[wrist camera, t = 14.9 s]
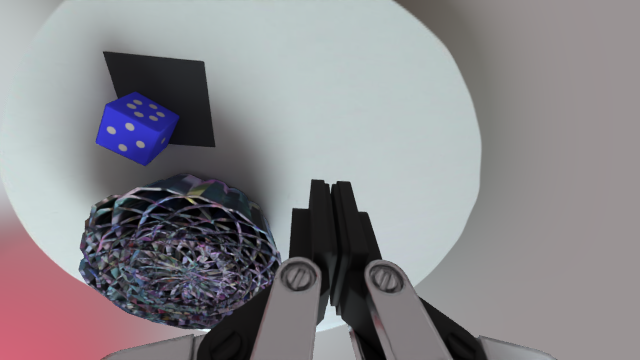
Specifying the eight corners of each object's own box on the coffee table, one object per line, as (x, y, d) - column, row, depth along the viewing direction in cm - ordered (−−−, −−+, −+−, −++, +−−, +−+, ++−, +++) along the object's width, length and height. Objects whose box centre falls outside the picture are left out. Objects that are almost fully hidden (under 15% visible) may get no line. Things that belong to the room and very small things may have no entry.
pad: (103, 51, 26) (102, 51, 26) (203, 61, 27) (203, 61, 27) (132, 140, 31) (131, 141, 31) (215, 146, 32) (214, 147, 32)
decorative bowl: (131, 263, 45) (93, 320, 38) (100, 128, 30) (22, 178, 22) (272, 283, 50) (264, 338, 42) (309, 176, 35) (307, 232, 27)
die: (166, 147, 32) (145, 167, 28) (123, 125, 30) (94, 143, 26) (180, 115, 30) (159, 131, 26) (135, 90, 28) (105, 103, 24)
